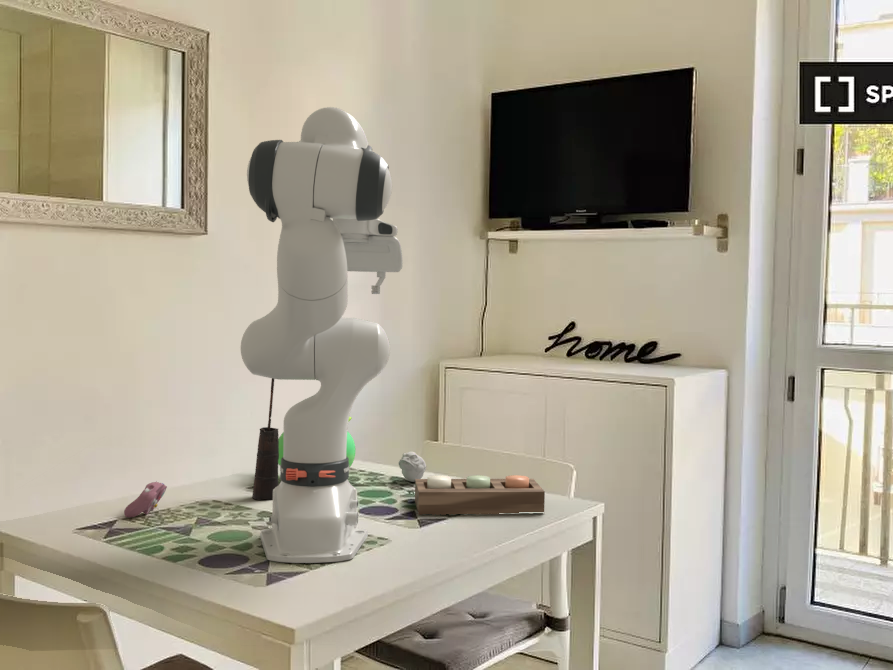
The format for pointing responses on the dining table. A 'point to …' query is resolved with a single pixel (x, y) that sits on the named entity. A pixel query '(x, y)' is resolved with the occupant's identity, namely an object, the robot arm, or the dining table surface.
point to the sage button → (478, 482)
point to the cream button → (439, 482)
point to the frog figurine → (412, 466)
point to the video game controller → (146, 500)
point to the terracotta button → (516, 481)
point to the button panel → (478, 498)
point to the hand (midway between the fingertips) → (353, 293)
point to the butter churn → (267, 459)
